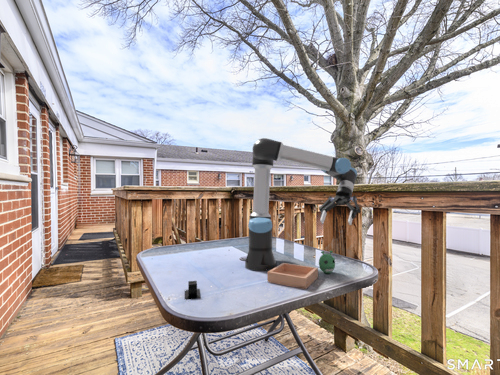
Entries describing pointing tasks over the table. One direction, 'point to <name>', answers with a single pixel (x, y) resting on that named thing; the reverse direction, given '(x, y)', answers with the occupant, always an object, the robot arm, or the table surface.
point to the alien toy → (327, 262)
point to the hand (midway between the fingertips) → (335, 222)
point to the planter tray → (293, 275)
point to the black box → (192, 291)
